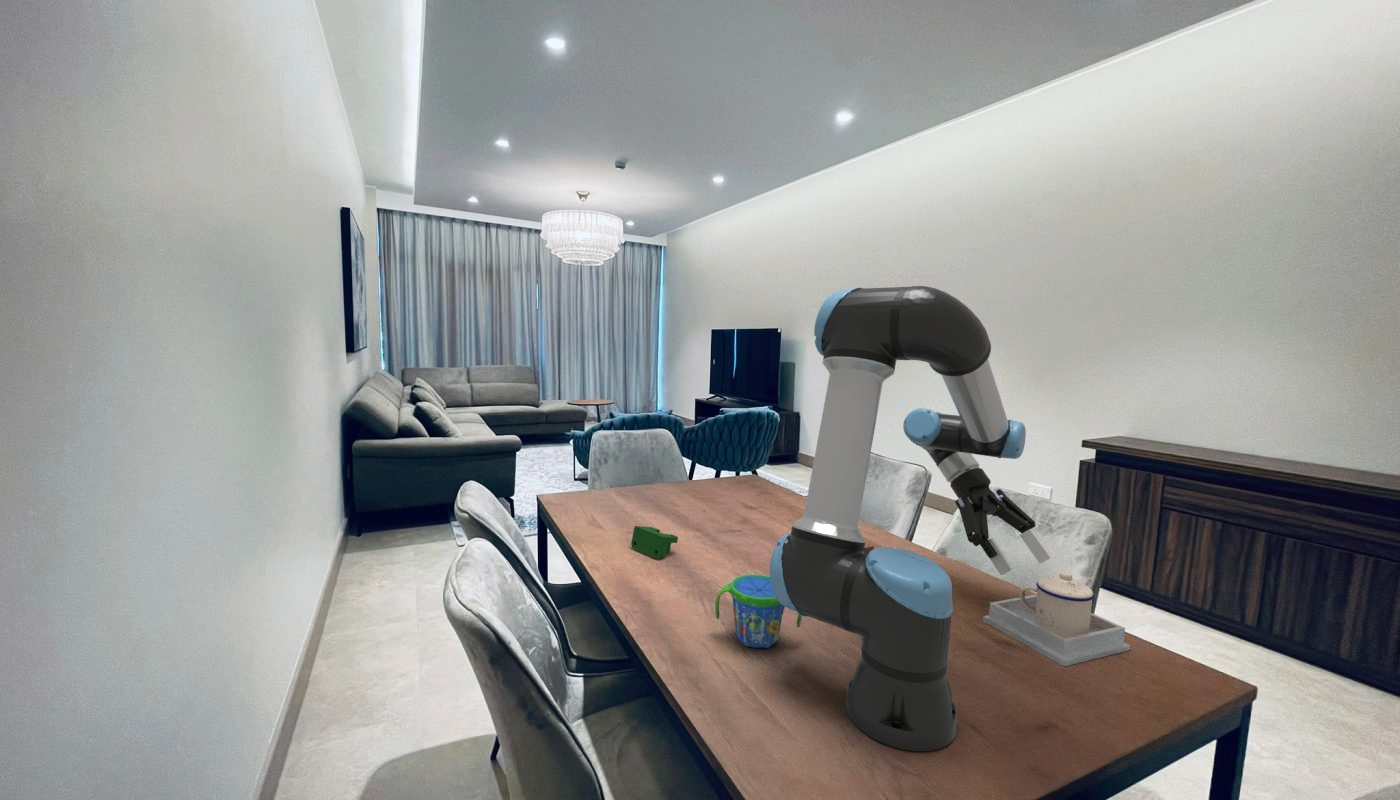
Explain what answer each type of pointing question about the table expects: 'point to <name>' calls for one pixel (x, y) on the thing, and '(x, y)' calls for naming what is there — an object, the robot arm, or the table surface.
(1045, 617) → the teacup with lid
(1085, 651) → the rectangular tray
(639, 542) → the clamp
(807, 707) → the table surface
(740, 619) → the snack cup
